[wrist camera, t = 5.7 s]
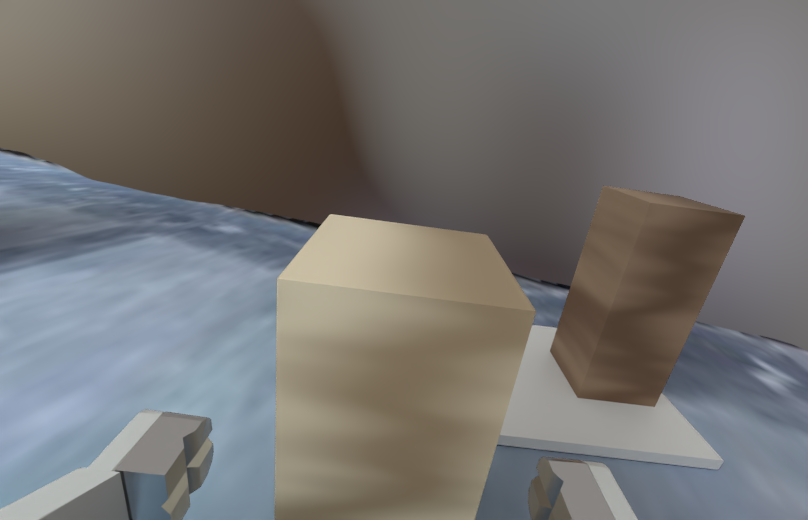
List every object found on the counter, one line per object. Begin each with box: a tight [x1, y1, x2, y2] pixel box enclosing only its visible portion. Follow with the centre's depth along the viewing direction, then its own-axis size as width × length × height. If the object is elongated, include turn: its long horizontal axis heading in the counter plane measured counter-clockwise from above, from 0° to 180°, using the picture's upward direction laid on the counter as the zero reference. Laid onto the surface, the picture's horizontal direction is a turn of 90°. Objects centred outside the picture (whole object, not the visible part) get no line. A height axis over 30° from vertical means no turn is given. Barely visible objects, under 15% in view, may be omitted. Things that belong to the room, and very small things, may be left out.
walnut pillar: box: [550, 186, 745, 407], centre depth 21 cm, size 4×4×11 cm
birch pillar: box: [275, 214, 536, 520], centre depth 10 cm, size 4×4×11 cm
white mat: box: [497, 325, 724, 470], centre depth 23 cm, size 20×11×1 cm, turn 89°
